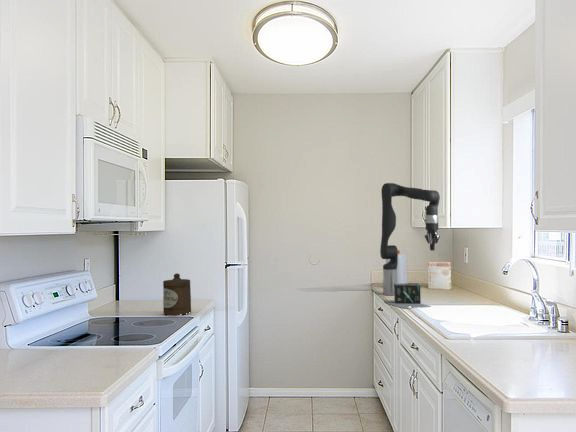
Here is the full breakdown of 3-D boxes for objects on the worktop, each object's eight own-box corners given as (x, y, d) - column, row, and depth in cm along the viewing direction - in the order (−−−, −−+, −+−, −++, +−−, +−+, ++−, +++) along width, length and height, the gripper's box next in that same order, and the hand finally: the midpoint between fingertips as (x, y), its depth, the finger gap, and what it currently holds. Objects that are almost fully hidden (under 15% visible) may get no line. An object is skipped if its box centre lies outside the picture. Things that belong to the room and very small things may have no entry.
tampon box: (418, 283, 283) (393, 283, 285) (420, 285, 274) (395, 285, 276) (418, 301, 283) (394, 300, 285) (420, 303, 274) (395, 303, 275)
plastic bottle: (382, 288, 345) (382, 250, 345) (390, 286, 357) (390, 249, 358) (402, 289, 336) (401, 251, 337) (409, 287, 348) (409, 250, 349)
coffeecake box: (451, 288, 338) (451, 261, 338) (449, 289, 332) (448, 262, 332) (430, 287, 346) (430, 261, 346) (428, 288, 340) (427, 262, 340)
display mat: (383, 302, 281) (383, 302, 281) (408, 300, 286) (408, 300, 286) (404, 308, 260) (404, 308, 260) (430, 306, 265) (430, 306, 265)
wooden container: (158, 313, 255) (158, 273, 255) (181, 310, 265) (181, 271, 266) (172, 317, 244) (172, 275, 245) (196, 313, 255) (196, 273, 255)
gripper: (420, 222, 292) (420, 250, 292) (433, 222, 279) (433, 251, 279) (430, 222, 294) (431, 249, 294) (443, 222, 282) (444, 250, 281)
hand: (432, 250), depth 286 cm, fingers closed
